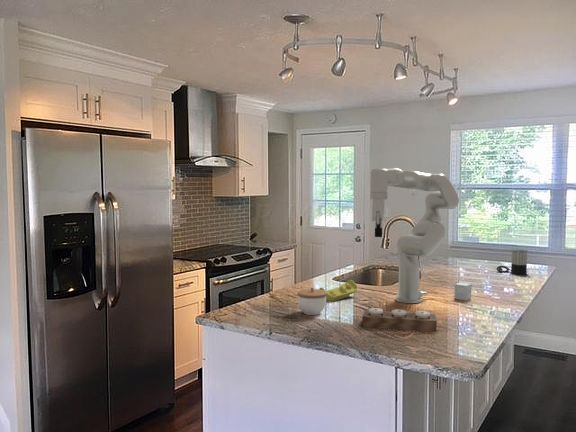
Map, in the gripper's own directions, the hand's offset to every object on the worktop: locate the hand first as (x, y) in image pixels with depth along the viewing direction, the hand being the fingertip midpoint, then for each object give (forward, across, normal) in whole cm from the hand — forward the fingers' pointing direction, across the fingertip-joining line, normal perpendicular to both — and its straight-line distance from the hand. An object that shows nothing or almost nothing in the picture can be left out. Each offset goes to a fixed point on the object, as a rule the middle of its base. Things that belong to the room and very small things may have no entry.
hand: (378, 236), depth 219 cm
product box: (+32, -25, +40) cm, 57 cm away
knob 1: (+32, +27, +1) cm, 42 cm away
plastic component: (+32, -14, -20) cm, 41 cm away
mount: (+32, +27, +10) cm, 43 cm away
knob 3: (+32, +27, +19) cm, 46 cm away
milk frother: (+33, -103, +77) cm, 133 cm away
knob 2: (+32, +27, +10) cm, 43 cm away
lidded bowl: (+32, +17, -27) cm, 45 cm away
